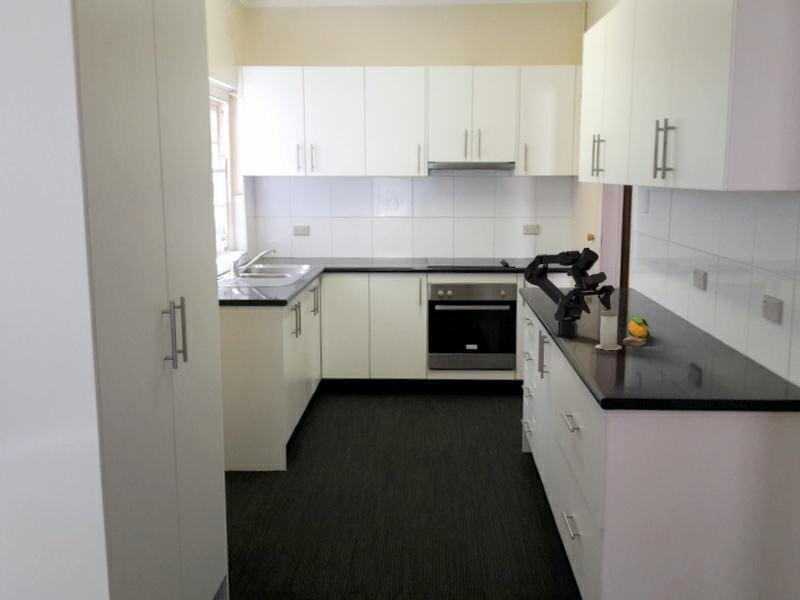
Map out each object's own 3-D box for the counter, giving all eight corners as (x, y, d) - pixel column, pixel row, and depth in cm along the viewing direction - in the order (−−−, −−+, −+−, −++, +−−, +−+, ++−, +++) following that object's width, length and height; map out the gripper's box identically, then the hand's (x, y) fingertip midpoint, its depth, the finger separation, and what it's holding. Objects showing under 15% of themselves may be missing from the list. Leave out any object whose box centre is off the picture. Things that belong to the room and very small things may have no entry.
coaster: (591, 348, 296) (591, 347, 296) (602, 344, 303) (602, 342, 303) (615, 351, 291) (615, 350, 291) (625, 347, 298) (625, 345, 298)
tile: (623, 344, 302) (623, 339, 302) (629, 341, 307) (630, 336, 306) (639, 346, 298) (639, 341, 298) (645, 343, 303) (645, 338, 303)
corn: (645, 313, 319) (654, 323, 300) (646, 333, 321) (654, 344, 301) (626, 315, 321) (633, 324, 301) (627, 334, 322) (633, 345, 302)
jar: (597, 346, 297) (597, 311, 295) (603, 344, 301) (604, 308, 299) (612, 348, 293) (613, 312, 291) (619, 345, 298) (620, 310, 296)
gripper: (570, 266, 298) (589, 301, 290) (612, 263, 306) (631, 296, 298) (557, 285, 306) (575, 319, 298) (598, 281, 314) (616, 314, 306)
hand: (600, 312), depth 300 cm, fingers open, 9 cm apart
